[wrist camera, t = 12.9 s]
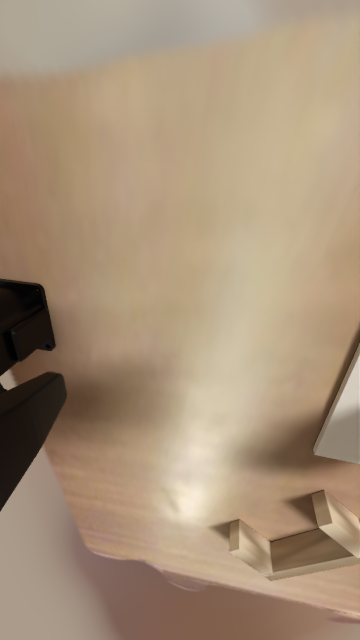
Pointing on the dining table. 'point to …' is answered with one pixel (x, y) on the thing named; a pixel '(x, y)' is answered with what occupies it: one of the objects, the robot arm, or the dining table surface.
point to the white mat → (343, 420)
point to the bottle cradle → (302, 543)
